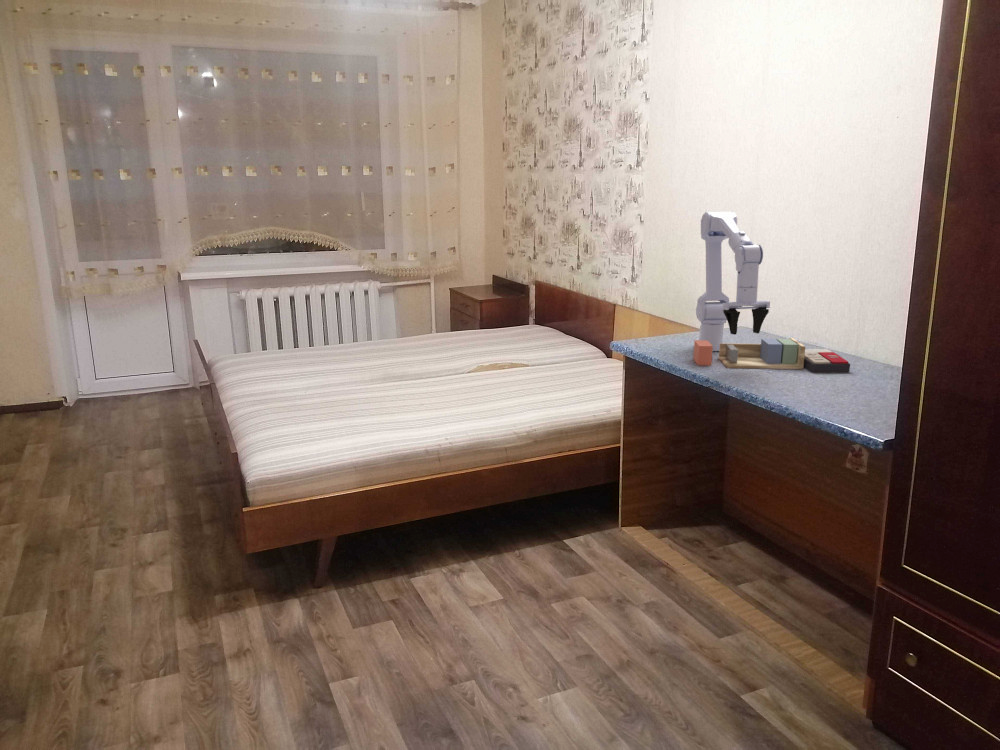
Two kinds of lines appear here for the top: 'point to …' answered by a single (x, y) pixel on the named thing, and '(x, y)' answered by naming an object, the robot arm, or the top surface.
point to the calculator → (824, 361)
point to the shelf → (758, 357)
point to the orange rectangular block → (702, 352)
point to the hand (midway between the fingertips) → (744, 333)
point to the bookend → (731, 353)
